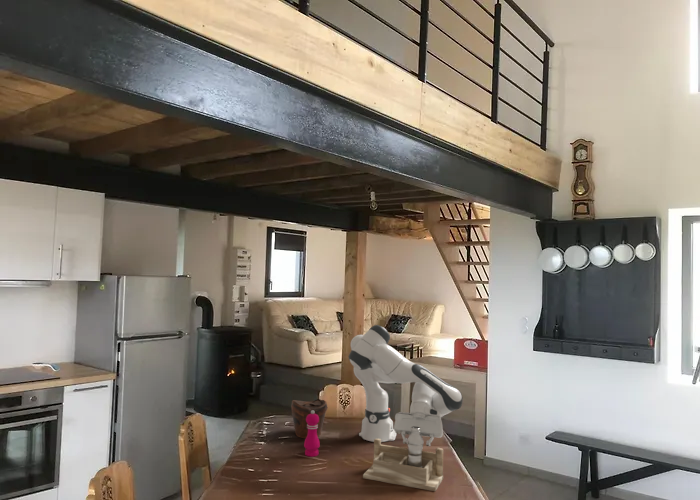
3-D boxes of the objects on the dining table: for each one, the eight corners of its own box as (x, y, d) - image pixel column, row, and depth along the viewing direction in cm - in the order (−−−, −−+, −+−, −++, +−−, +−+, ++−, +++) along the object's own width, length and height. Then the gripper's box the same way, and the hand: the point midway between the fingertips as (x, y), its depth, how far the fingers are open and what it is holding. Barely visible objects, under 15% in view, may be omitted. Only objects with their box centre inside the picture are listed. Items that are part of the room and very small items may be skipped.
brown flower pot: (334, 432, 278) (334, 397, 278) (311, 443, 261) (311, 405, 261) (307, 426, 287) (307, 393, 288) (283, 436, 270) (283, 400, 271)
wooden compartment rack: (374, 466, 233) (375, 438, 233) (443, 477, 222) (443, 448, 222) (363, 478, 220) (363, 448, 220) (435, 491, 208) (435, 460, 209)
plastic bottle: (404, 475, 220) (405, 425, 221) (420, 474, 221) (421, 425, 222) (408, 480, 213) (409, 429, 214) (424, 480, 214) (425, 429, 215)
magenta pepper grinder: (317, 457, 241) (318, 412, 242) (301, 456, 243) (302, 411, 243) (321, 452, 249) (322, 408, 249) (306, 450, 250) (307, 407, 250)
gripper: (395, 407, 229) (390, 437, 219) (443, 412, 224) (441, 443, 214) (396, 415, 233) (392, 445, 223) (444, 419, 228) (441, 450, 218)
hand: (416, 444), depth 219 cm, fingers open, 8 cm apart
